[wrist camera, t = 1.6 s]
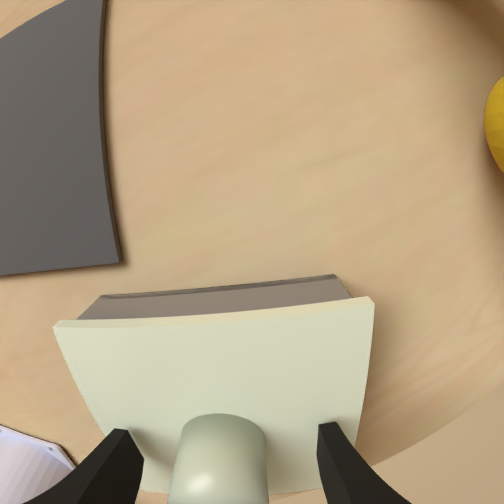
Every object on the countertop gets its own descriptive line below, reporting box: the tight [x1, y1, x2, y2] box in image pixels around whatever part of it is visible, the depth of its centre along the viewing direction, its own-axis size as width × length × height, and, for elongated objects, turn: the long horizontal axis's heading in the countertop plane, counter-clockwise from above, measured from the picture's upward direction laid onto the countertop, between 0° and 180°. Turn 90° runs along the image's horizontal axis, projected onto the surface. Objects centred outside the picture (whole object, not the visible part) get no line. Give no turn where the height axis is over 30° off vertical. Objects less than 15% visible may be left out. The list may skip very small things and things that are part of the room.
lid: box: [52, 296, 375, 504], centre depth 9 cm, size 11×11×5 cm
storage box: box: [76, 274, 352, 320], centre depth 12 cm, size 10×10×3 cm
